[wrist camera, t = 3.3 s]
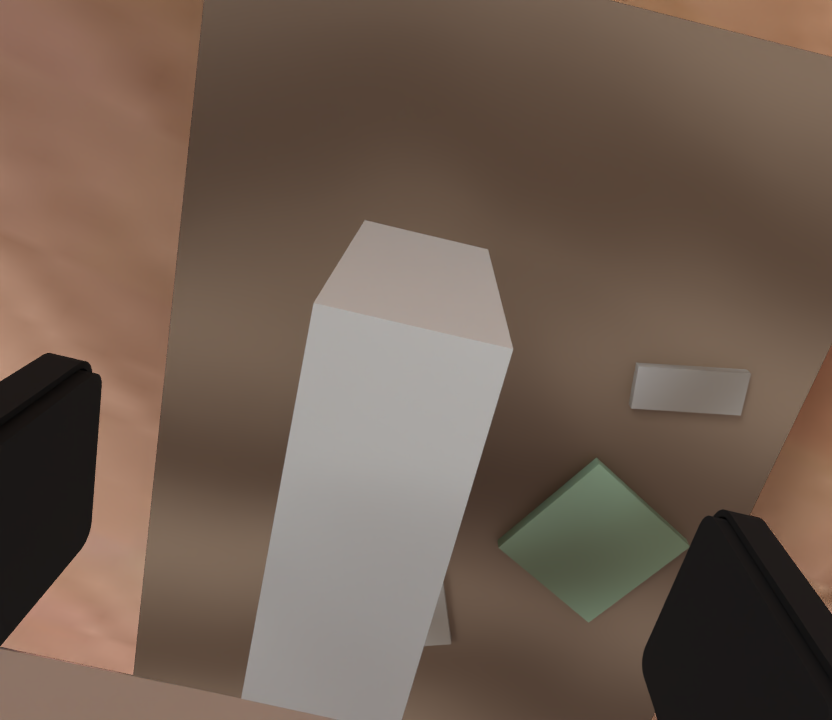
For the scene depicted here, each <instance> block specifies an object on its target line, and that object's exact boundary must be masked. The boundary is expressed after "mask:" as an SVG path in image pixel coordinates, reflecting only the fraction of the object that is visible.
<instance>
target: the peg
mask: <svg viewBox="0 0 832 720" xmlns="http://www.w3.org/2000/svg"><path fill="white" fill-rule="evenodd" d="M512 352H513V346H512V342H511V338H510V334H509V330H508V326H507V322H506V318H505V314H504V310H503V306H502V302H501V299H500V295H499V291H498V287H497V283H496V279H495V275H494V271H493V267H492V263H491V259H490V255H489V251H488V249H484V248H480V247H476V246H472V245H467V244H463V243H459V242H455V241H451V240H446V239H442V238H438V237H434V236H430V235H425V234H421V233H417V232H413V231H408V230H404V229H400V228H396V227H392V226H387V225H383V224H379V223H375V222H371V221H366V220H365V221H364V222H363V224H362V225H361V227H360V229H359V230H358V232H357V234H356V235H355V237H354V238H353V240H352V242H351V243H350V245H349V246H348V248H347V250H346V251H345V253H344V255H343V256H342V258H341V259H340V261H339V263H338V264H337V266H336V267H335V269H334V271H333V272H332V274H331V275H330V277H329V279H328V280H327V282H326V284H325V285H324V287H323V288H322V290H321V292H320V293H319V295H318V296H317V298H316V300H315V301H314V303H313V309H312V314H311V319H310V325H309V330H308V336H307V341H306V347H305V352H304V358H303V363H302V369H301V374H300V380H299V385H298V391H297V396H296V401H295V407H294V412H293V418H292V423H291V429H290V434H289V440H288V445H287V451H286V456H285V462H284V467H283V473H282V478H281V483H280V489H279V494H278V500H277V505H276V511H275V516H274V522H273V527H272V533H271V538H270V544H269V549H268V555H267V560H266V565H265V571H264V576H263V582H262V587H261V593H260V598H259V604H258V609H257V615H256V620H255V626H254V631H253V637H252V642H251V647H250V653H249V658H248V664H247V669H246V675H245V680H244V686H243V691H242V697H241V699H245V700H250V701H254V702H259V703H264V704H268V705H273V706H278V707H282V708H287V709H291V710H296V711H301V712H305V713H310V714H314V715H319V716H324V717H328V718H333V719H338V720H402V717H403V714H404V711H405V707H406V704H407V701H408V697H409V694H410V691H411V687H412V684H413V681H414V677H415V674H416V671H417V667H418V664H419V661H420V657H421V654H422V651H423V647H424V644H425V641H426V638H427V634H428V631H429V628H430V624H431V621H432V618H433V614H434V611H435V608H436V604H437V601H438V598H439V594H440V591H441V588H442V584H443V581H444V578H445V574H446V571H447V568H448V564H449V561H450V558H451V554H452V551H453V548H454V545H455V541H456V538H457V535H458V531H459V528H460V525H461V521H462V518H463V515H464V511H465V508H466V505H467V501H468V498H469V495H470V491H471V488H472V485H473V481H474V478H475V475H476V471H477V468H478V465H479V461H480V458H481V455H482V452H483V448H484V445H485V442H486V438H487V435H488V432H489V428H490V425H491V422H492V418H493V415H494V412H495V408H496V405H497V402H498V398H499V395H500V392H501V388H502V385H503V382H504V378H505V375H506V372H507V368H508V365H509V362H510V359H511V355H512Z"/></svg>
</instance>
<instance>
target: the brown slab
mask: <svg viewBox="0 0 832 720" xmlns="http://www.w3.org/2000/svg"><path fill="white" fill-rule="evenodd" d="M365 220H366V221H371V222H375V223H379V224H383V225H387V226H392V227H396V228H400V229H404V230H408V231H413V232H417V233H421V234H425V235H430V236H434V237H438V238H442V239H446V240H451V241H455V242H459V243H463V244H467V245H472V246H476V247H480V248H484V249H488V251H489V255H490V259H491V263H492V267H493V271H494V275H495V279H496V283H497V287H498V291H499V295H500V299H501V302H502V306H503V310H504V314H505V318H506V322H507V326H508V330H509V334H510V338H511V342H512V346H513V352H512V355H511V359H510V362H509V365H508V368H507V372H506V375H505V378H504V382H503V385H502V388H501V392H500V395H499V398H498V402H497V405H496V408H495V412H494V415H493V418H492V422H491V425H490V428H489V432H488V435H487V438H486V442H485V445H484V448H483V452H482V455H481V458H480V461H479V465H478V468H477V471H476V475H475V478H474V481H473V485H472V488H471V491H470V495H469V498H468V501H467V505H466V508H465V511H464V515H463V518H462V521H461V525H460V528H459V531H458V535H457V538H456V541H455V545H454V548H453V551H452V554H451V558H450V561H449V564H448V568H447V571H446V574H445V578H444V581H443V584H442V588H441V591H440V594H439V598H438V601H437V604H436V608H435V611H434V614H433V618H432V621H431V624H430V628H429V631H428V634H427V638H426V641H425V644H424V647H423V651H422V654H421V657H420V661H419V664H418V667H417V671H416V674H415V677H414V681H413V684H412V687H411V691H410V694H409V697H408V701H407V704H406V707H405V711H404V714H403V717H402V720H651V719H652V717H653V715H654V713H655V710H654V707H653V704H652V701H651V698H650V695H649V692H648V689H647V685H646V682H645V679H644V676H643V672H642V657H643V652H644V649H645V646H646V644H647V642H648V639H649V637H650V635H651V633H652V630H653V628H654V626H655V624H656V621H657V619H658V617H659V615H660V612H661V610H662V608H663V606H664V603H665V601H666V599H667V596H668V594H669V592H670V590H671V587H672V585H673V583H674V581H675V578H676V576H677V574H678V572H679V569H680V567H681V565H682V563H683V560H684V558H685V556H686V554H687V551H688V549H689V547H690V545H691V542H692V540H693V538H694V536H695V533H696V531H697V529H698V527H699V524H700V523H701V521H702V519H703V518H704V517H706V516H708V515H709V516H714V514H715V513H716V512H717V511H719V510H722V509H724V510H728V511H733V512H737V513H741V514H745V515H750V513H751V511H752V509H753V507H754V505H755V503H756V501H757V499H758V497H759V494H760V492H761V490H762V488H763V486H764V484H765V482H766V480H767V478H768V476H769V474H770V472H771V470H772V467H773V465H774V463H775V461H776V459H777V457H778V455H779V453H780V451H781V449H782V447H783V445H784V442H785V440H786V438H787V436H788V434H789V432H790V430H791V428H792V426H793V424H794V422H795V420H796V417H797V415H798V413H799V411H800V409H801V407H802V405H803V403H804V401H805V399H806V397H807V395H808V392H809V390H810V388H811V386H812V384H813V382H814V380H815V378H816V376H817V374H818V372H819V370H820V367H821V365H822V363H823V361H824V359H825V357H826V355H827V353H828V351H829V349H830V347H831V345H832V57H830V56H826V55H822V54H818V53H814V52H810V51H806V50H803V49H799V48H795V47H791V46H787V45H783V44H779V43H775V42H771V41H767V40H763V39H759V38H756V37H752V36H748V35H744V34H740V33H736V32H732V31H728V30H724V29H720V28H716V27H713V26H709V25H705V24H701V23H697V22H693V21H689V20H685V19H681V18H677V17H673V16H670V15H666V14H662V13H658V12H654V11H650V10H646V9H642V8H638V7H634V6H630V5H627V4H623V3H619V2H615V1H611V0H204V6H203V15H202V25H201V34H200V44H199V53H198V63H197V72H196V82H195V91H194V101H193V111H192V120H191V130H190V139H189V149H188V158H187V168H186V177H185V187H184V196H183V206H182V215H181V225H180V234H179V244H178V254H177V263H176V273H175V282H174V292H173V301H172V311H171V320H170V330H169V339H168V349H167V358H166V368H165V377H164V387H163V397H162V406H161V416H160V425H159V435H158V444H157V454H156V463H155V473H154V482H153V492H152V501H151V511H150V521H149V530H148V540H147V549H146V559H145V568H144V578H143V587H142V597H141V606H140V616H139V625H138V635H137V644H136V654H135V664H134V673H133V675H134V676H139V677H144V678H148V679H153V680H158V681H163V682H167V683H172V684H177V685H181V686H186V687H190V688H195V689H200V690H204V691H209V692H213V693H218V694H222V695H227V696H232V697H236V698H241V697H242V691H243V686H244V680H245V675H246V669H247V664H248V658H249V653H250V647H251V642H252V637H253V631H254V626H255V620H256V615H257V609H258V604H259V598H260V593H261V587H262V582H263V576H264V571H265V565H266V560H267V555H268V549H269V544H270V538H271V533H272V527H273V522H274V516H275V511H276V505H277V500H278V494H279V489H280V483H281V478H282V473H283V467H284V462H285V456H286V451H287V445H288V440H289V434H290V429H291V423H292V418H293V412H294V407H295V401H296V396H297V391H298V385H299V380H300V374H301V369H302V363H303V358H304V352H305V347H306V341H307V336H308V330H309V325H310V319H311V314H312V309H313V303H314V301H315V300H316V298H317V296H318V295H319V293H320V292H321V290H322V288H323V287H324V285H325V284H326V282H327V280H328V279H329V277H330V275H331V274H332V272H333V271H334V269H335V267H336V266H337V264H338V263H339V261H340V259H341V258H342V256H343V255H344V253H345V251H346V250H347V248H348V246H349V245H350V243H351V242H352V240H353V238H354V237H355V235H356V234H357V232H358V230H359V229H360V227H361V225H362V224H363V222H364V221H365Z"/></svg>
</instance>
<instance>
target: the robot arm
mask: <svg viewBox="0 0 832 720" xmlns="http://www.w3.org/2000/svg"><path fill="white" fill-rule="evenodd" d="M101 388H102V381H101V377H100V375H99V374H96V373H92V369H91V365H90V364H89V363H88V362H86V361H82V360H77V359H73V358H69V357H65V356H60V355H56V354H52V353H47V354H44V355H42V356H41V357H39V358H37V359H36V360H34V361H33V362H31V363H29V364H28V365H26V366H24V367H23V368H21V369H20V370H18V371H16V372H15V373H13V374H12V375H10V376H8V377H7V378H5V379H3V380H2V381H0V646H1V645H2V644H3V642H4V641H5V640H6V639H7V638H8V636H9V635H10V634H11V633H12V632H13V630H14V629H15V628H16V627H17V626H18V624H19V623H20V622H21V621H22V620H23V618H24V617H25V616H26V615H27V614H28V612H29V611H30V610H31V609H32V608H33V606H34V605H35V604H36V603H37V602H38V600H39V599H40V598H41V597H42V596H43V594H44V593H45V592H46V591H47V590H48V588H49V587H50V586H51V585H52V584H53V582H54V581H55V580H56V579H57V578H58V576H59V575H60V574H61V573H62V572H63V570H64V569H65V568H66V567H67V566H68V564H69V563H70V562H71V561H72V560H73V558H74V557H75V556H76V555H77V554H78V552H79V551H80V550H81V549H82V547H83V546H84V544H85V542H86V540H87V538H88V535H89V532H90V528H91V522H92V509H93V495H94V482H95V468H96V455H97V442H98V428H99V415H100V401H101ZM642 672H643V676H644V679H645V682H646V685H647V689H648V692H649V695H650V698H651V701H652V704H653V707H654V710H655V713H656V716H657V719H658V720H832V614H831V612H830V611H829V610H828V608H827V607H826V606H825V604H824V603H823V601H822V600H821V599H820V597H819V596H818V595H817V593H816V592H815V590H814V589H813V588H812V586H811V585H810V584H809V582H808V581H807V579H806V578H805V577H804V575H803V574H802V573H801V571H800V570H799V568H798V567H797V566H796V564H795V563H794V562H793V560H792V559H791V557H790V556H789V555H788V553H787V552H786V551H785V549H784V548H783V546H782V545H781V544H780V542H779V541H778V540H777V538H776V537H775V535H774V534H773V533H772V531H771V530H770V529H769V527H768V526H767V524H766V523H765V522H764V521H763V520H762V519H761V518H758V517H754V516H750V515H745V514H741V513H737V512H733V511H728V510H724V509H722V510H719V511H717V512H716V513H715V514H714V516H709V515H708V516H706V517H704V518H703V519H702V521H701V523H700V524H699V527H698V529H697V531H696V533H695V536H694V538H693V540H692V542H691V545H690V547H689V549H688V551H687V554H686V556H685V558H684V560H683V563H682V565H681V567H680V569H679V572H678V574H677V576H676V578H675V581H674V583H673V585H672V587H671V590H670V592H669V594H668V596H667V599H666V601H665V603H664V606H663V608H662V610H661V612H660V615H659V617H658V619H657V621H656V624H655V626H654V628H653V630H652V633H651V635H650V637H649V639H648V642H647V644H646V646H645V649H644V652H643V657H642ZM0 720H338V719H333V718H328V717H324V716H319V715H314V714H310V713H305V712H301V711H296V710H291V709H287V708H282V707H278V706H273V705H268V704H264V703H259V702H254V701H250V700H245V699H241V698H236V697H232V696H227V695H222V694H218V693H213V692H209V691H204V690H200V689H195V688H190V687H186V686H181V685H177V684H172V683H167V682H163V681H158V680H153V679H148V678H144V677H139V676H134V675H130V674H125V673H120V672H116V671H111V670H106V669H102V668H97V667H92V666H87V665H83V664H78V663H73V662H69V661H64V660H59V659H55V658H50V657H45V656H41V655H36V654H31V653H27V652H22V651H17V650H13V649H8V648H3V647H0Z"/></svg>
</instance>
